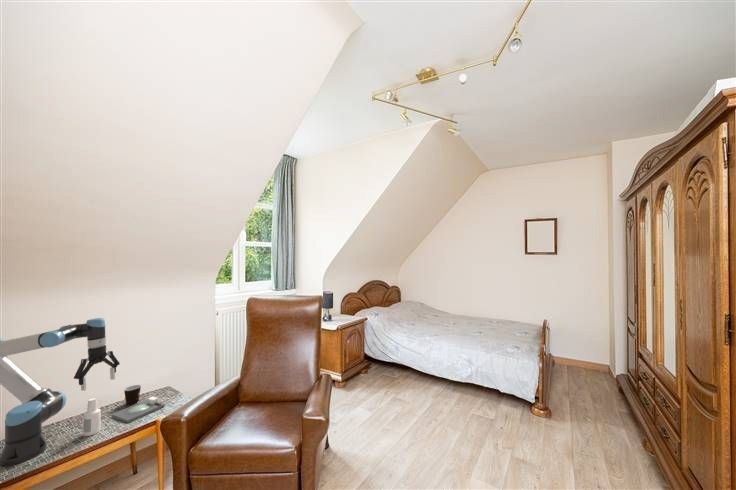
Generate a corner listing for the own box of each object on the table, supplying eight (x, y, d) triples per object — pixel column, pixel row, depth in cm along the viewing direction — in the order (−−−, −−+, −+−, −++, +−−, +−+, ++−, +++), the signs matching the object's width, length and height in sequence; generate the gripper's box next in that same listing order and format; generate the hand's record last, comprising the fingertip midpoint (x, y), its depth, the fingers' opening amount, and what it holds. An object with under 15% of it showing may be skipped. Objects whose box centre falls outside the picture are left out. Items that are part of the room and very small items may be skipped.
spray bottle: (88, 430, 161) (88, 397, 162) (103, 427, 164) (103, 395, 164) (80, 437, 155) (80, 403, 156) (96, 434, 157) (96, 401, 158)
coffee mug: (133, 406, 187) (133, 390, 188) (120, 406, 187) (120, 390, 188) (147, 397, 199) (147, 382, 199) (135, 397, 199) (135, 383, 199)
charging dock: (127, 423, 168) (127, 415, 168) (111, 416, 175) (111, 409, 175) (164, 406, 186) (164, 399, 186) (148, 401, 193) (148, 394, 194)
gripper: (72, 354, 150) (74, 395, 149) (126, 339, 173) (127, 375, 173) (63, 353, 152) (65, 394, 151) (117, 339, 176) (119, 374, 175)
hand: (98, 384), depth 162 cm, fingers open, 13 cm apart
